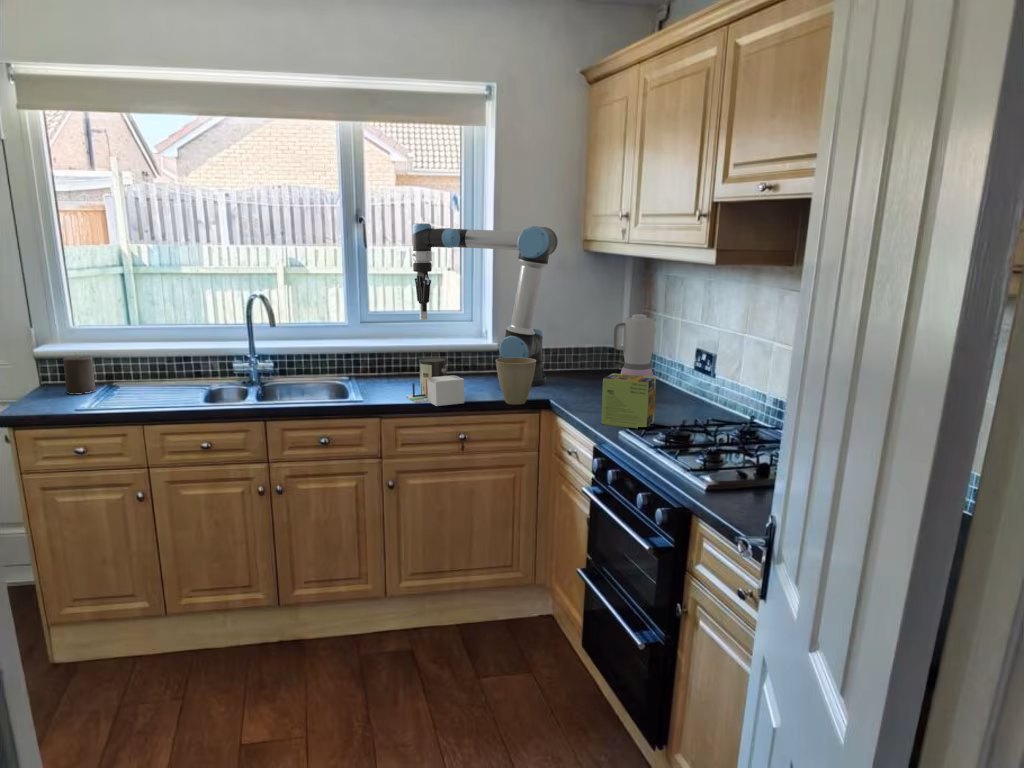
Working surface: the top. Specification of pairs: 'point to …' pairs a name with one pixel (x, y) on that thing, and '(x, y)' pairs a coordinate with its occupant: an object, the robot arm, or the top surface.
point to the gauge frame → (443, 391)
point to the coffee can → (431, 369)
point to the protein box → (628, 400)
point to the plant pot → (515, 378)
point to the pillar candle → (79, 374)
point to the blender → (636, 344)
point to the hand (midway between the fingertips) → (423, 319)
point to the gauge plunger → (424, 390)
